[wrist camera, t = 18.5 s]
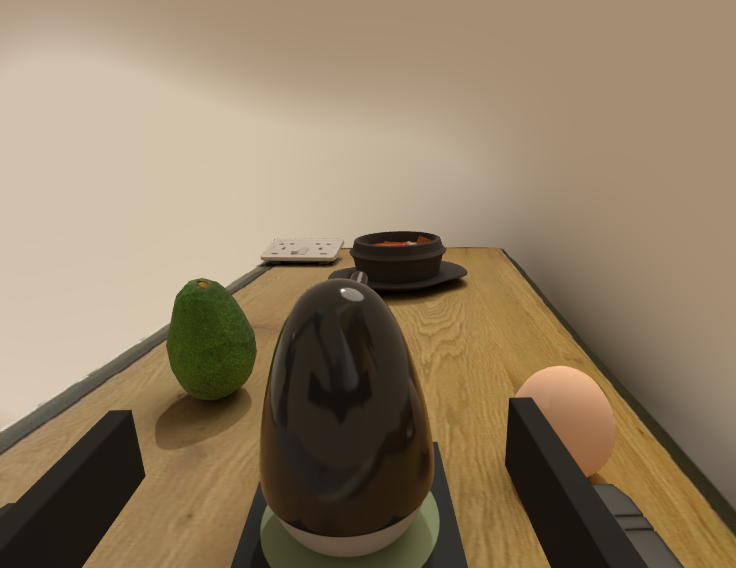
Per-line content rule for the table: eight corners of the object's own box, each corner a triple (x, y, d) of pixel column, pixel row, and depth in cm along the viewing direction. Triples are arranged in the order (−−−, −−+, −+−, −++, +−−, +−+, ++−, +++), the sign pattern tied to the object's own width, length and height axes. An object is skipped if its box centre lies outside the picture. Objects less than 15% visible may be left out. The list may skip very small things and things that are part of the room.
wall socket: (346, 248, 105) (344, 232, 103) (343, 272, 91) (341, 255, 89) (271, 255, 105) (268, 239, 104) (256, 280, 92) (253, 262, 90)
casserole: (443, 266, 89) (443, 225, 87) (486, 291, 72) (488, 241, 69) (322, 277, 84) (319, 234, 82) (337, 307, 67) (334, 254, 64)
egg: (629, 480, 30) (646, 376, 27) (565, 521, 27) (578, 408, 24) (548, 431, 35) (556, 341, 33) (487, 459, 32) (492, 363, 30)
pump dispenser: (438, 466, 31) (440, 258, 27) (426, 610, 21) (427, 317, 17) (303, 451, 33) (285, 256, 29) (235, 576, 23) (193, 308, 19)
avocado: (162, 419, 39) (137, 292, 36) (196, 376, 47) (178, 268, 43) (249, 416, 39) (233, 289, 36) (269, 374, 46) (257, 266, 43)
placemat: (208, 644, 21) (206, 635, 20) (271, 452, 34) (270, 445, 34) (482, 636, 20) (483, 627, 20) (437, 446, 34) (437, 440, 34)
